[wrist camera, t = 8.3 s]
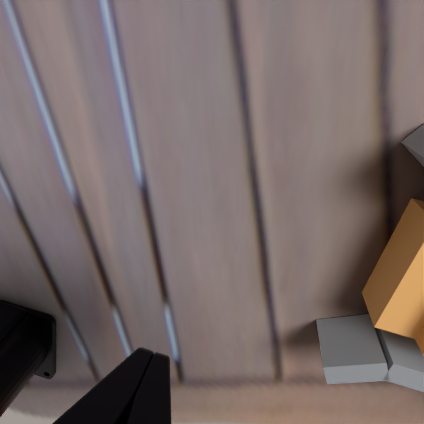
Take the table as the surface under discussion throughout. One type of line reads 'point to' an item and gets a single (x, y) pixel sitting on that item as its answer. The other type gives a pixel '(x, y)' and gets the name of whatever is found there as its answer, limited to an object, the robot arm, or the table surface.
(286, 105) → the table surface
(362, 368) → the forked block with knob
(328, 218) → the table surface
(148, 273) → the table surface
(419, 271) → the orange stepped block
